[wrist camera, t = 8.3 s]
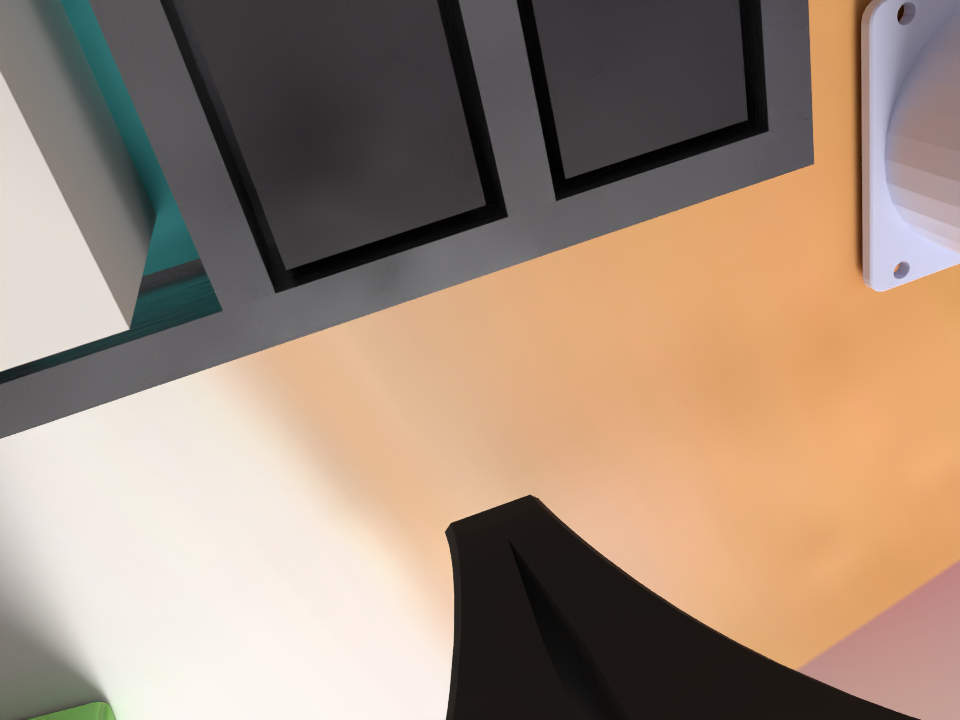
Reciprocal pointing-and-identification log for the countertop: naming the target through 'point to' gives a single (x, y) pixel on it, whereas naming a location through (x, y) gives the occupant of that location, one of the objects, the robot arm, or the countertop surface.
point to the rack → (403, 154)
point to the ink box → (81, 713)
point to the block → (62, 194)
